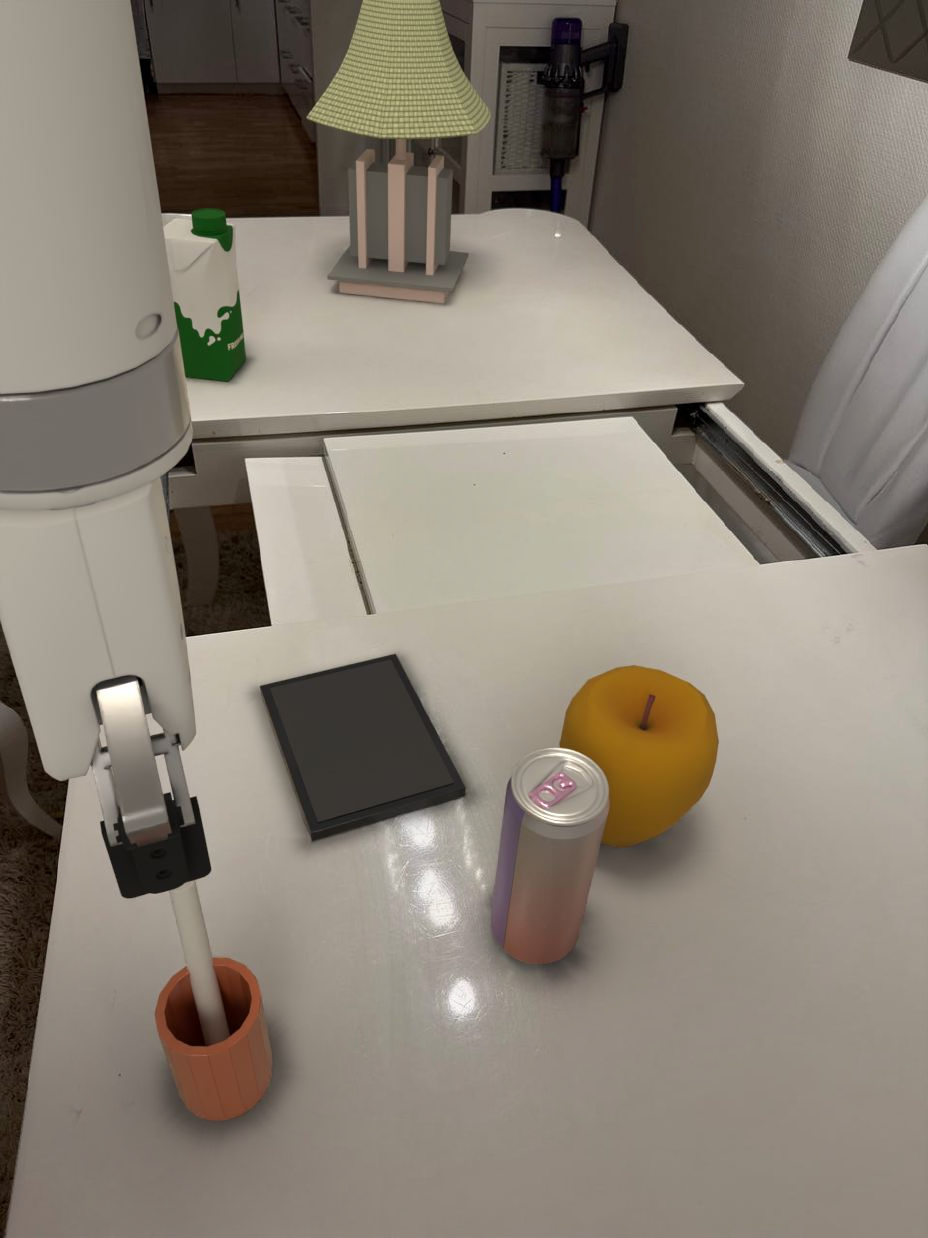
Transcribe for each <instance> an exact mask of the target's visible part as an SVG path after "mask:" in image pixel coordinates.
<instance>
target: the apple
mask: <svg viewBox="0 0 928 1238" xmlns="http://www.w3.org/2000/svg"><path fill="white" fill-rule="evenodd" d="M719 744H720V739H719V732H718V727H717V719H716V714H715V712H714V710H713V708H712V706H711V704H710V702H709V701H708V699H707V696H706V695H705V694H704V693H703V692H702V691H701V690H699V689H698V688H697V687H696V686H695V685H693V684H692V683H690V682H689V681H687V680H684V679H682V678H680V677H678V676H676V675H673V674H671V673H669V672H666V671H664V670H661V669H657V668H652V667H645V666H641V665H636V664H633V665H632V664H631V665H625V666H617V667H614V668H612V669H610V670H607V671H605V672H603V673H600V674H598V675H596V676H592V677H590V678H588V679H586V681H585V682H584V684H583V685H582V686H581V687H580V688H579V690H578V691H577V692H576V693H575V694H574V695H573V696H572V698H571V700H570V702H569V704H568V706H567V708H566V710H565V714H564V720H563V724H562V730H561V733H560V740H559V748H566V749H570V750H574V751H577V752H579V753H581V754H583V755H585V756H587V757H589V758H590V759H591V760H593V761H594V762H595V763H596V764H597V765H598V766H599V767H600V768H601V770H602V771H603V773H604V774H605V776H606V778H607V781H608V785H609V801H610V805H609V811H608V816H607V820H606V824H605V828H604V832H603V837H602V841H601V844H602V845H606V846H609V847H613V848H616V849H620V848H630V847H632V846H635V845H638V844H640V843H643V842H646V841H648V840H651V839H654V838H656V837H658V836H660V835H661V834H663V833H665V832H666V831H667V830H669V829H670V828H671V827H673V826H675V825H676V824H677V823H678V822H679V821H680V820H682V818H683V817H684V816H685V815H686V814H688V813H689V811H690V810H691V809H692V808H693V807H694V806H695V805H696V804H697V803H698V802H700V800H701V799H702V797H703V796H704V794H705V792H706V791H707V790H708V788H709V786H710V783H711V781H712V778H713V776H714V771H715V767H716V765H717V760H718V759H717V758H718V751H719Z"/></svg>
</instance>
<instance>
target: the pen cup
mask: <svg viewBox="0 0 928 1238" xmlns="http://www.w3.org/2000/svg"><path fill="white" fill-rule="evenodd" d="M212 957H213V965H212V966H213V968H214V970H215V972H216V975H217V979H218V984H219V988H220V993H221V997H222V1002H223V1006H224V1011H225V1015H226V1020H227V1024H228V1029H229V1033H230V1037H229V1038H228V1039H226V1040H225V1041H222V1042H219V1043H216V1044H214V1045H211V1046H208V1047H207V1046H206V1045H205V1041H204V1037H203V1033H202V1029H201V1024H200V1020H199V1016H198V1012H197V1008H196V1003H195V999H194V995H193V991H192V986H191V982H190V972H189V971H188V969H187V965H186V966H184V967H183V968H181V969H179V970H178V971H177V972H176V973H174V974H173V975H172V976H171V977H170V978H169V980H168V982H167V983H166V984H165V985H164V986H163V988H162V990H161V991H160V992H159V995H158V998H157V1002H156V1005H155V1010H154V1019H155V1025H156V1032H157V1034H158V1037H159V1040H160V1043H161V1046H162V1049H163V1052H164V1056H165V1058H166V1061H167V1064H168V1067H169V1069H170V1073H171V1076H172V1079H173V1081H174V1084H175V1088H176V1090H177V1093H178V1095H179V1097H180V1099H181V1101H182V1102H183V1104H184V1106H185V1107H186V1108H187V1109H188V1111H190V1112H191V1113H192V1114H193V1115H195V1116H197V1118H198V1117H199V1118H201V1119H203V1120H207V1121H214V1122H218V1121H219V1122H220V1121H221V1122H222V1121H227V1120H232V1119H235V1118H237V1117H241V1116H243V1114H245V1113H247V1112H249V1111H250V1110H252V1108H254V1107H255V1105H257V1104H258V1103H259V1101H260V1100H261V1099H262V1098H263V1096H264V1095H265V1093H266V1091H267V1090H268V1088H269V1086H270V1083H271V1080H272V1076H273V1070H274V1064H273V1063H274V1062H273V1061H274V1060H273V1059H274V1058H273V1052H272V1047H271V1041H270V1036H269V1030H268V1024H267V1019H266V1014H265V1008H264V1001H263V997H262V993H261V989H260V985H259V982H258V978H257V977H256V976H255V974H254V973H253V972H252V971H251V970H250V969H249V967H248V966H247V965H245V964H244V963H241V962H239V961H237V960H234V959H232V958H230V957H229V958H228V957H215V956H212Z"/></svg>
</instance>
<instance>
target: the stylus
mask: <svg viewBox="0 0 928 1238" xmlns="http://www.w3.org/2000/svg"><path fill="white" fill-rule="evenodd" d="M168 893H169V897H170V901H171V906H172V910H173V914H174V919H175V923H176V928H177V931H178V936H179V940H180V944H181V948H182V953H183V956H184V960H185V961H184V962H185V965H186V966H187V969H188V971H189V972H190V982H191V986H192V991H193V995H194V999H195V1003H196V1008H197V1012H198V1016H199V1020H200V1024H201V1029H202V1033H203V1037H204V1041H205V1045H206V1046H207V1047H208V1046H211V1045H214V1044H216V1043H219V1042H222V1041H225V1040H226V1039H228V1038H229V1037H230V1033H229V1029H228V1024H227V1020H226V1015H225V1011H224V1006H223V1002H222V997H221V993H220V988H219V984H218V979H217V975H216V972H215V970H214V968H213V966H212V965H213V957H214V956H213V953H212V948H211V943H210V940H209V934H208V931H207V927H206V922H205V917H204V912H203V907H202V903H201V900H200V895H199V890H198V886H197V881H196V880H193V881H190V882H187V883H185V884H184V885H182V886H180V887H178V888H176V889H173V890H170V891H168Z"/></svg>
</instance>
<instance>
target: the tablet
mask: <svg viewBox="0 0 928 1238" xmlns="http://www.w3.org/2000/svg"><path fill="white" fill-rule="evenodd" d="M259 691H260V696H261V699H262V703H263V705H264V708H265V710H266V713H267V716H268V719H269V723H270V725H271V727H272V731H273V734H274V736H275V739H276V743H277V745H278V748H279V751H280V753H281V757H282V760H283V763H284V766H285V768H286V771H287V774H288V776H289V780H290V783H291V785H292V789H293V791H294V794H295V797H296V800H297V803H298V805H299V809H300V811H301V814H302V817H303V820H304V823H305V826H306V829H307V832H308V834H309V837H310V840H311V842H315V841H318V840H321V839H325V838H328V837H332V836H335V835H338V834H341V833H345V832H348V831H352V830H355V829H358V828H362V827H365V826H368V825H372V824H376V823H379V822H382V821H385V820H389V819H393V818H396V817H399V816H403V815H406V814H410V813H412V812H416V811H420V810H423V809H426V808H429V807H430V808H431V807H433V806H436V805H440V804H442V803H447V802H449V801H450V802H451V801H453V800H457V799H461V798H463V797H465V796H466V791H467V790H466V789H467V788H466V785H465V784H464V782H463V779H462V777H461V776H460V774H459V772H458V770H457V768H456V766H455V764H454V762H453V760H452V759H451V757H450V754H449V752H448V751H447V749H446V747H445V744H444V743H443V741H442V740H441V738H440V735H439V733H438V732H437V730H436V728H435V726H434V724H433V722H432V720H431V718H430V717H429V714H428V713H427V711H426V709H425V707H424V705H423V703H422V702H421V700H420V697H419V695H418V694H417V692H416V690H415V688H414V686H413V684H412V682H411V679H410V678H409V676H408V674H407V672H406V671H405V668H404V667H403V665H402V663H401V661H400V659H399V657H398V655H397V654H396V653H393V654H388V655H384V656H380V657H376V658H371V659H366V660H363V661H362V660H361V661H359V662H354V663H349V664H346V665H341V666H337V667H333V668H329V669H325V670H321V671H317V672H316V671H315V672H312V673H308V674H304V675H299V676H295V677H291V678H287V679H282V680H278V681H274V682H270V683H266V684H261V685H259Z"/></svg>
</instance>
